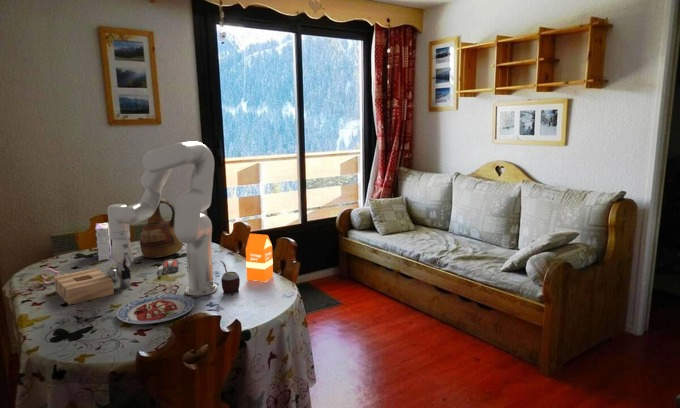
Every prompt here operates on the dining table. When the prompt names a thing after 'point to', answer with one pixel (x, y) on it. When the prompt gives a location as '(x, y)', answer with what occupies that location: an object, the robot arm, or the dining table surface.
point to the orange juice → (259, 258)
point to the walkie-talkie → (168, 267)
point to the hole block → (83, 286)
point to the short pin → (113, 275)
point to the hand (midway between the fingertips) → (124, 276)
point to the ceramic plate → (155, 309)
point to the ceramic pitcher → (159, 235)
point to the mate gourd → (230, 282)
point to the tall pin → (122, 283)
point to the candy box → (103, 241)
